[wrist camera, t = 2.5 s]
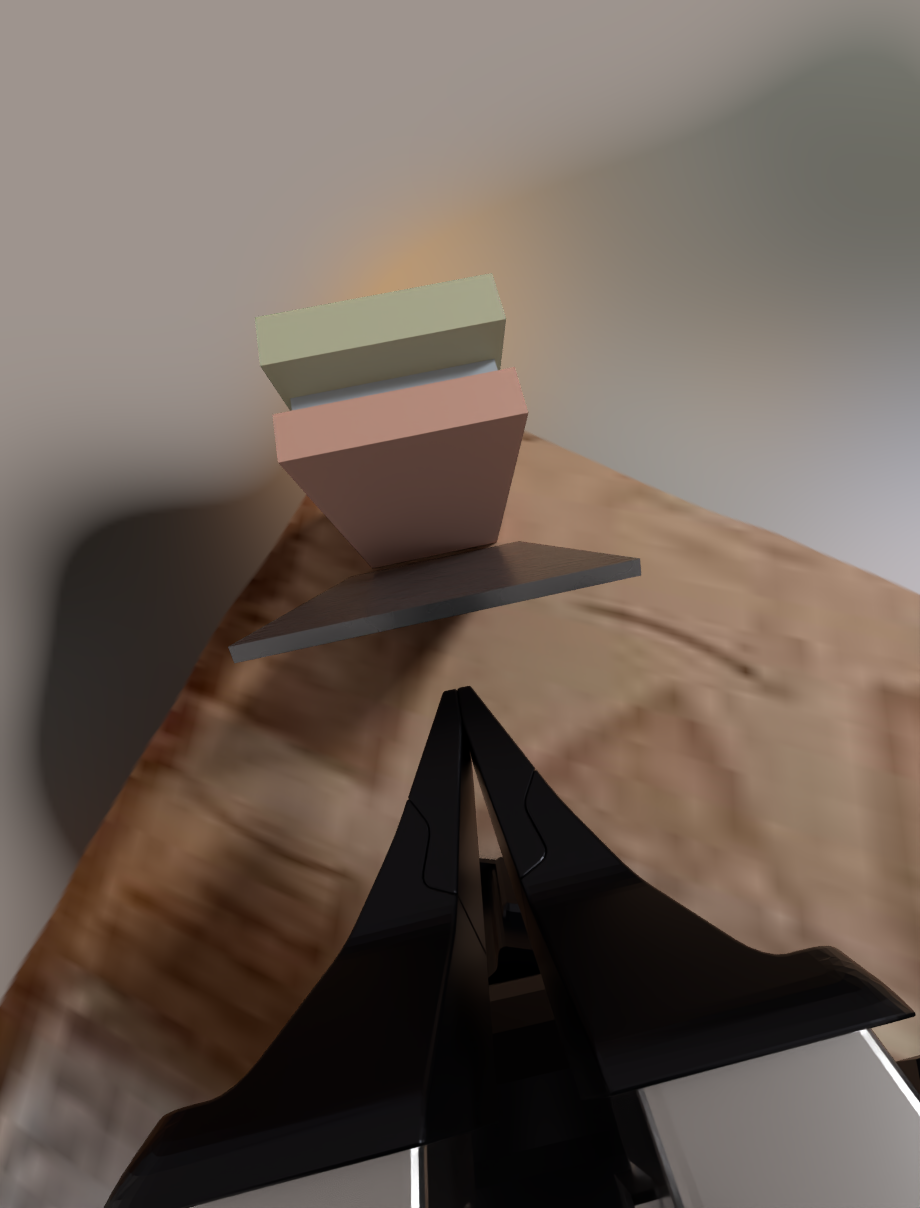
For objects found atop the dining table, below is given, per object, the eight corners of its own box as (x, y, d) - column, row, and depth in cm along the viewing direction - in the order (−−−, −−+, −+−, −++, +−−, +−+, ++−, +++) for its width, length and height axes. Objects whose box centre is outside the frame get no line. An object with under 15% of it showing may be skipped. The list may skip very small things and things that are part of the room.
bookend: (520, 548, 23) (640, 575, 10) (352, 583, 23) (234, 663, 9) (519, 541, 23) (640, 558, 10) (351, 576, 23) (228, 647, 9)
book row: (496, 542, 24) (531, 401, 11) (372, 568, 23) (269, 453, 11) (478, 470, 25) (492, 273, 12) (360, 495, 24) (254, 317, 12)
